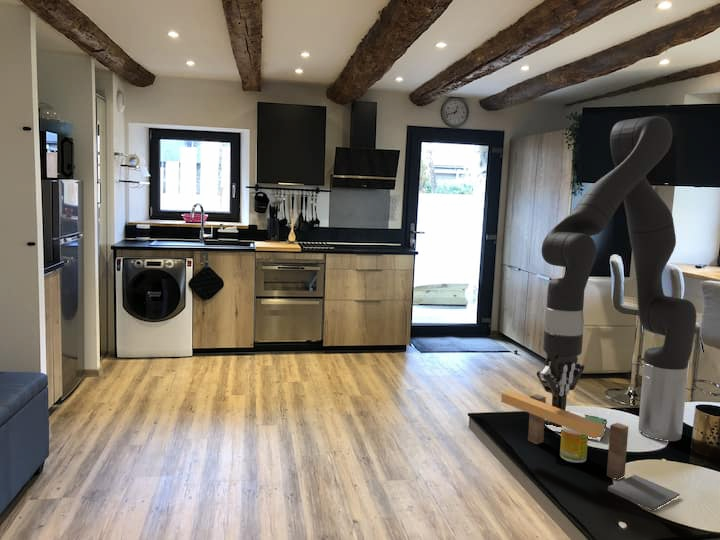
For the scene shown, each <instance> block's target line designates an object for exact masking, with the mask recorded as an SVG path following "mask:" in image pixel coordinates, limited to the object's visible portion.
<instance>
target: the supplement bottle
mask: <svg viewBox="0 0 720 540" xmlns="http://www.w3.org/2000/svg"><path fill="white" fill-rule="evenodd" d="M569 412H570V413H573V414H576V415H579V416H581V417H584V418H586V416H585V415H586V414H585V415H584V413H582V412H578V411H569ZM588 440H589V439H588V436H587V435H584V434H582V433H579V432H576V431H574V430H571V429H569V428H566V427H564V426H562V430H561V433H560V447H559V448H560V449H559V456H560V457H561V459H563V460H564V461H566V462H570V463H574V464H575V463H576V464H577V463H578V464H579V463H581V464H582V463H585V462H586V461H587V455H588V443H589V441H588Z"/></svg>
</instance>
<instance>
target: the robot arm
mask: <svg viewBox="0 0 720 540" xmlns="http://www.w3.org/2000/svg"><path fill="white" fill-rule="evenodd" d="M672 142H673V129H672V125H671V123H670V122H669V121H668V119H666V118H665V117H663V116H657V115H655V116H646V117H645V116H644V117H638V118H632V119H630V118H629V119H624V120H620V121H617V122H616V123H615V124H614V125H613V127H612V129H611V131H610V137H609V146H610V147H609V148H610V152H611V157H612V161H613V164H614V169H612V170H610V171H609V172H608V173H607V174H605V175H604V176H602V177H601V178H599V179H598V180H597V181H596V182H595V183H593V184H592V185H591V186H590V187H589V188H588V190H587V191H586V192H585V193H584V195H583V196H582V197H581V199H580V200H579V201H578V203H577V205H576V206H575V207H574V210H573V211H572V212H571V213H570V214H568V215H567V216H565V217H564V218H563V219H562V220H561V221H560V222H559V223H557V224H556V225H555V226H554V227H553V228H552V229H551V230H550V231H548V233H547V234H546V235H545V238H544V239H543V241H542V244H541V255H542V258H543V260H544V262H546V263H547V264H549V265H551V266H554V267H556V266H557V267H563V268H567V269H566V272H565V273H564V276H563V277H556V278H553V279H551V280H550V281H549V283H548V287H547V294H546V295H547V298H546V311H545V315H544V327H543V345H542V349H543V352H544V353H545V354H546V358H545V362H544V366H545V367H544V368H543V370H537V372H536V377H537V379H538V380H539V382H540V384H541V385H542V388H543V389H544V391H545V392H546V393H550V394H551V398H552V399H551V406H554V407H557V408H560V409H562V410H565V411H566V409H567V396H568V395H569V393H570V391H574V390H575V388H576V386H577V384H578V382H579V380H580V378H581V377H582V375H583V371H584V370H585V365H584V364H581V363H579V361H578V360H579V359H578V357H579V356H580V355H581V354H582V353H583V339H584V321H585V320H584V319H585V318H584V317H585V316H584V306H585V305H584V301H585V289H586V287H587V284H588V281H589V278H590V276H591V272H592V270H593V267H594V264H595V261H596V256H597V247H596V244H595V240H594V239H593V236H596V235H599V234H600V233H602V232H603V230H604V229H605V228H606V226H607V225H608V223H609V222H610V220H611V219H612V217H613V216H614V214H615V212H617V210H618V208H619V207H620V206H621V204H622V203H623V204H624V209H625V215H626V220H627V222H626V223H627V229H628V235H629V242H630V246H631V251H632V256H633V263H634V270H635V278H636V290H637V291H636V292H637V293H636V294H637V308H638V309H637V310H638V318H639V322H640V324H641V326H642V328H643V329H644V330H645V331H647V332H649V333H653V334H656V335H661V336H665V337H664V342H663V345H662V346H658V347H657V346H656V347H650V348H647V349H645V350H644V353H643V363H642V364H643V365H642V377H641V378H642V379H641V389H640V390H641V391H640V400H639V401H640V402H639V414H638V415H639V416H638V424H637V425H638V427H637V430H638V429H639V431H641V432H642V433H644V434H645V435H648V436H650V437H653V438H657V439H662V440H668V441H667V442H675V441H680V440H682V435H683V426H684V416H685V415H684V414H685V406H686V405H685V404H686V390H687V389H686V387H687V379H688V378H687V377H688V367H689V366H688V364H689V360H690V357H691V356H692V352H693V345H694V339H695V338H694V337H695V331H696V325H697V310H696V307H695V304H694V303H693V302H692V301H691V300H688V299H684V298H679V297H673V296H667V295H666V294H665V292H664V290H663V289H664V288H663V278H662V277H663V273H664V270H665V267H666V266H667V265H668V262H669V260H670V258H671V256H672V255H673V253H674V251H675V249H676V248H675V247H676V245H677V244H676V243H677V239H676V238H677V237H676V231H675V225H674V218H673V214H672V212H671V210H670V208H669V207H668V206H667V204H666V202H665V201H664V200H663V199H662V198H661V197H660V195H659V194H658V193H657V192H656V190H655V189H654V188H653V187H652V185H651V184H650V182H649V181H648V179H647V175H648V174H649V172H651V170H652V169H653V168H654V167H655V166H657V164H658V163H659V162H660V161H661V160H662V159H663V158H664V156H665V155H667V153H668V152H669V150H670V148H671V145H672ZM639 431H638V432H639ZM645 435H644V436H645ZM662 440H661V441H662Z"/></svg>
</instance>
